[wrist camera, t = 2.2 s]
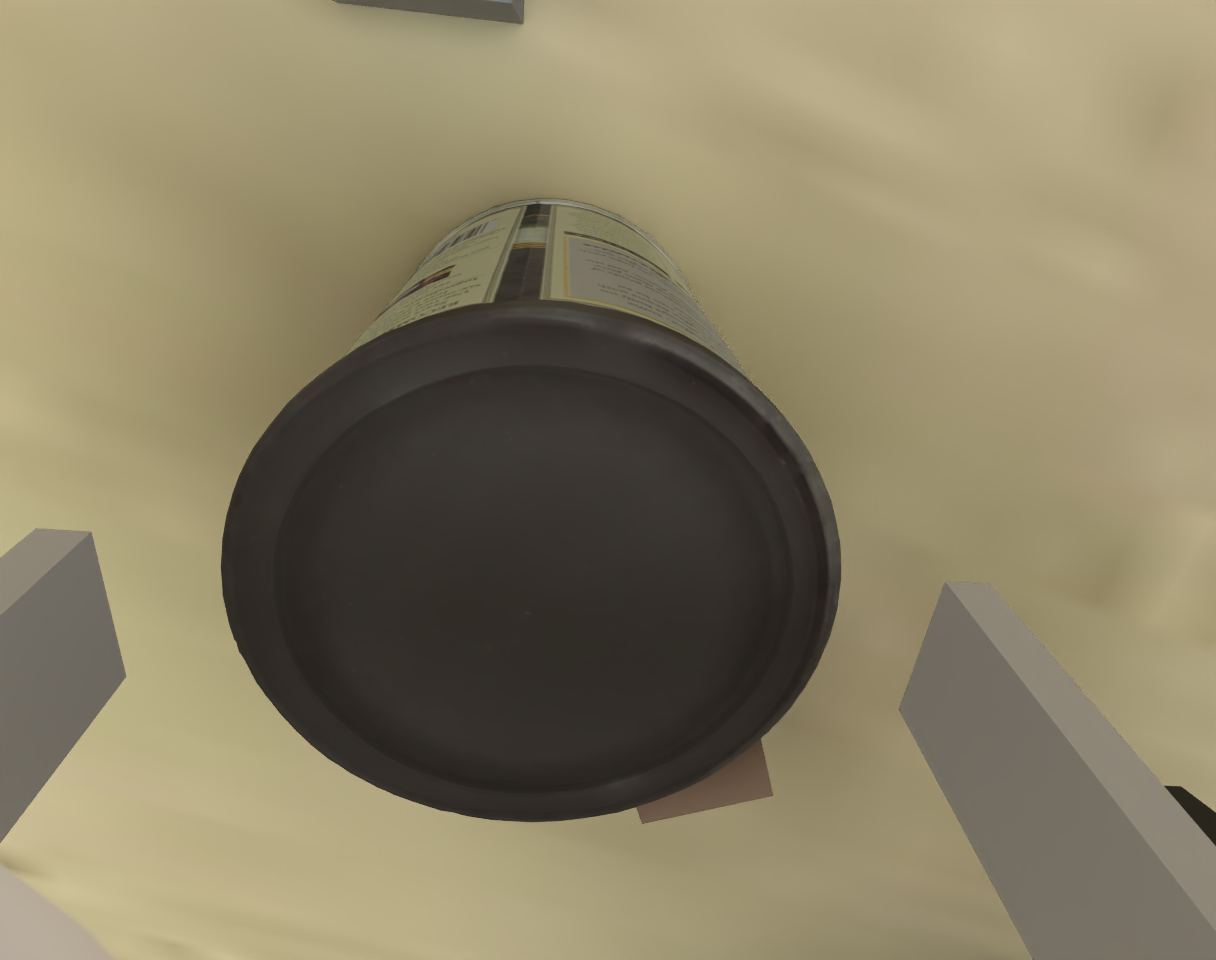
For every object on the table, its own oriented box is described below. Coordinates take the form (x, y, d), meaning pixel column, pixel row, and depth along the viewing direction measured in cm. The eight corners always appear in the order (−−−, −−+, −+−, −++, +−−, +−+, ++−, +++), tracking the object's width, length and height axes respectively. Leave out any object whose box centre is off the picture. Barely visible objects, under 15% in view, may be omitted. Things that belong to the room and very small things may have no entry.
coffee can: (612, 538, 28) (646, 885, 16) (349, 417, 26) (142, 718, 13) (767, 297, 25) (974, 503, 12) (478, 127, 22) (357, 162, 9)
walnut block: (745, 700, 33) (772, 795, 28) (632, 725, 33) (642, 823, 28) (724, 609, 30) (751, 696, 26) (603, 637, 31) (609, 728, 26)
